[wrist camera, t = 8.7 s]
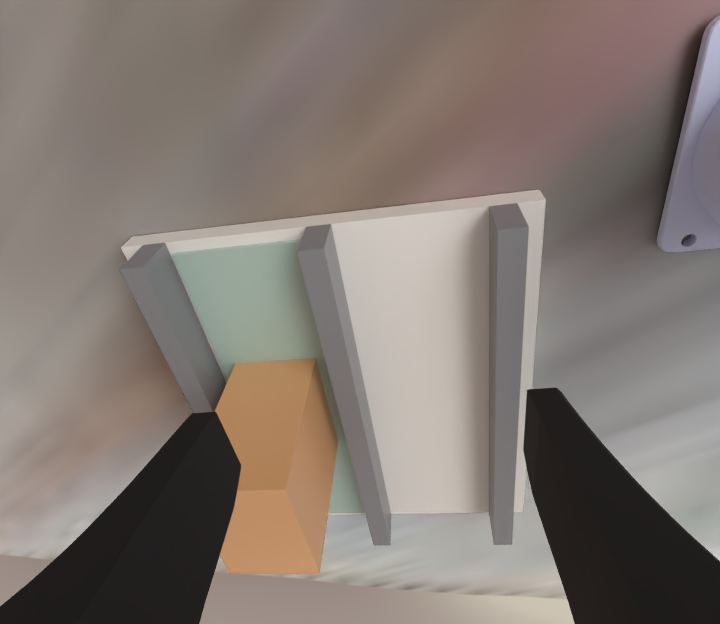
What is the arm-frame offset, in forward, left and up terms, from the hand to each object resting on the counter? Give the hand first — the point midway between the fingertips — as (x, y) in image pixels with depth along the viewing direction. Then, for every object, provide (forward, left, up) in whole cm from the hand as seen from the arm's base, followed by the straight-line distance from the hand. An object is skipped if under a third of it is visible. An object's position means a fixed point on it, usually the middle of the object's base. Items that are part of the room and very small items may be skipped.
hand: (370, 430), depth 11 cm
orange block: (+6, +8, -9) cm, 14 cm away
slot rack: (+2, +9, -10) cm, 14 cm away
